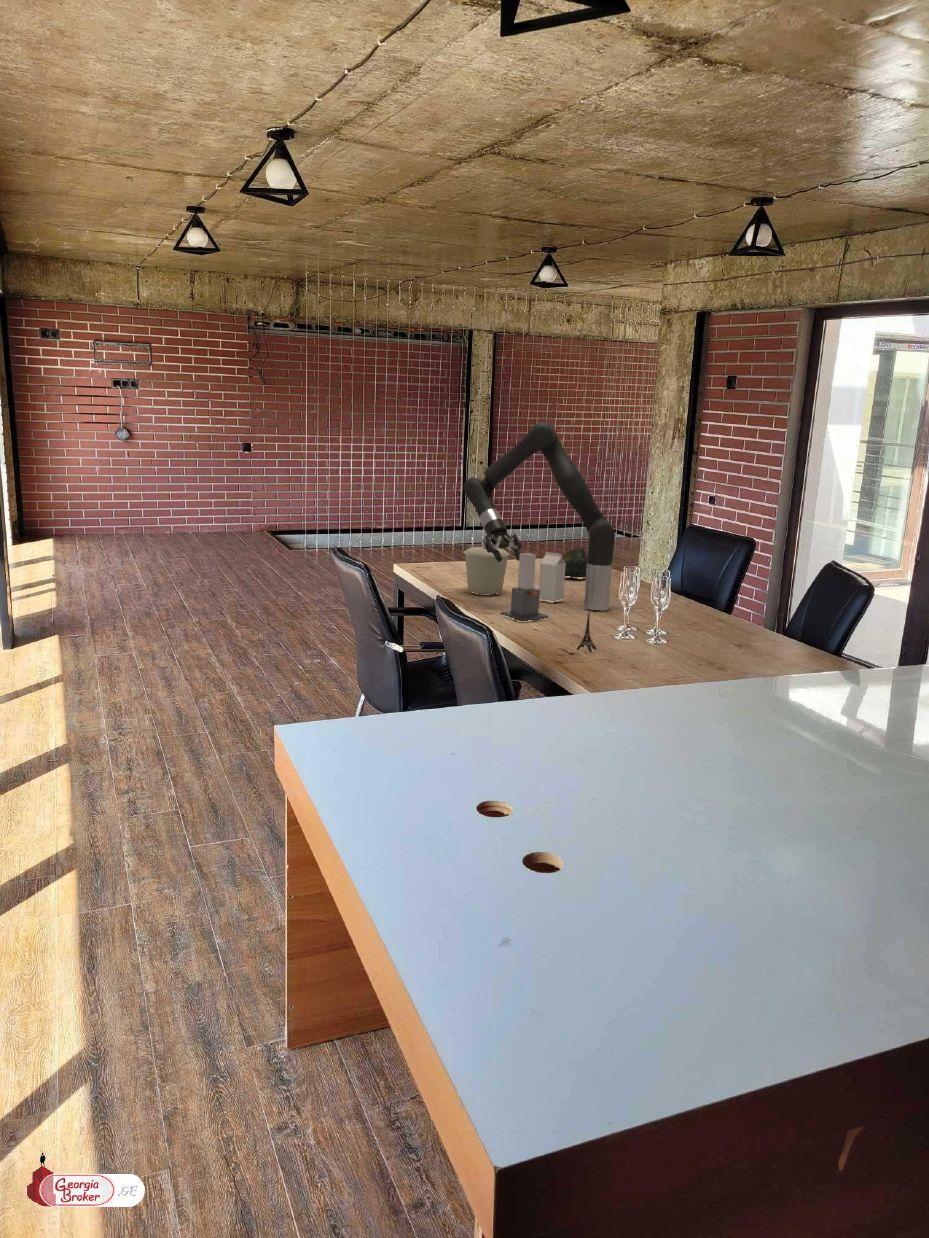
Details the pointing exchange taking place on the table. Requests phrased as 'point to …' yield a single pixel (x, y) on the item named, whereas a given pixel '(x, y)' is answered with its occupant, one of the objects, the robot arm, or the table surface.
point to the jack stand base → (525, 605)
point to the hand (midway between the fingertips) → (510, 560)
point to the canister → (485, 570)
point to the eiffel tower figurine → (586, 636)
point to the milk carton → (552, 577)
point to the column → (526, 571)
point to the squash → (575, 562)
